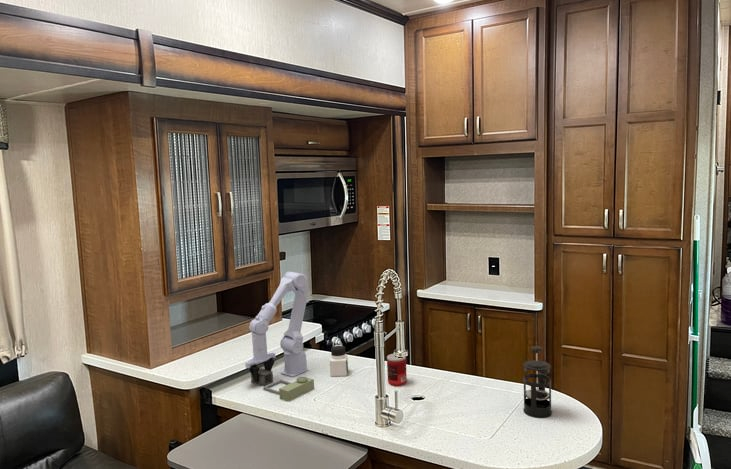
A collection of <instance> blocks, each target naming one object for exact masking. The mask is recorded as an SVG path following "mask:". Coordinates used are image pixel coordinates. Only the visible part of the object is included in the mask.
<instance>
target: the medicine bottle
mask: <svg viewBox="0 0 731 469" xmlns="http://www.w3.org/2000/svg"><path fill="white" fill-rule="evenodd" d="M330 352H331V353H330V358H329V372H330V377H332V378H333V377H347V376H348V375H349V374H348V372H349V362H348V354H346V346H344V345H341V344H337V345H333V346H332V347H331V348H330Z"/></svg>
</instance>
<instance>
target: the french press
mask: <svg viewBox="0 0 731 469" xmlns="http://www.w3.org/2000/svg"><path fill="white" fill-rule="evenodd" d="M530 350H532V351H535V358H536V360H532V359H531V360H526V361H524V362H523V364H522V365H523V367H524V372H525V373H526V372H529V371H531V370H532V371H536V373H528V374H526V375H524V376H523V413H524V414H525V415H527V416H528V417H531V418H537V419H545V418H549V417H551V416H552V414H553V411H552V379H551V377H550V376H548V374H550V369H551V368H552V366H551V364H550V363H549V362H547V361H543V360H538V354H539V351H540V352H541V351H543V350H544V348H543V347H541V346H538V345H536V346H531V347H530ZM531 378H536V382H530V381H528V379H531ZM546 381H547V382H546ZM527 386H528V387H530V389H527V388H526V387H527ZM546 387H547V388H549V389H548V391H549V392H548V391H547V390H546Z"/></svg>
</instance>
